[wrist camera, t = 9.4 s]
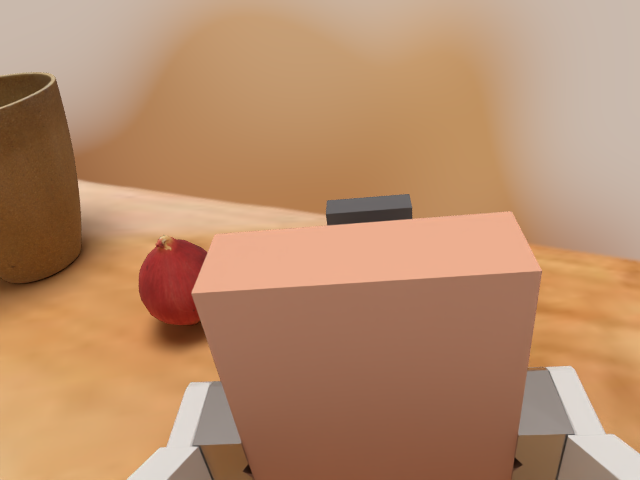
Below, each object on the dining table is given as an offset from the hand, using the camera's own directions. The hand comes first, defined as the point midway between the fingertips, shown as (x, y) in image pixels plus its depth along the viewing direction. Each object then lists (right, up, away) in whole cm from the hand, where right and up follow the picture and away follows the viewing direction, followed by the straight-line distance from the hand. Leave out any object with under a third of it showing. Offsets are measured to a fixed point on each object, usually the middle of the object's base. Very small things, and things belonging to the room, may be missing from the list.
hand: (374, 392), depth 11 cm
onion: (-11, -3, +28) cm, 30 cm away
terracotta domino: (+1, -5, +2) cm, 6 cm away
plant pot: (-28, +1, +38) cm, 48 cm away
